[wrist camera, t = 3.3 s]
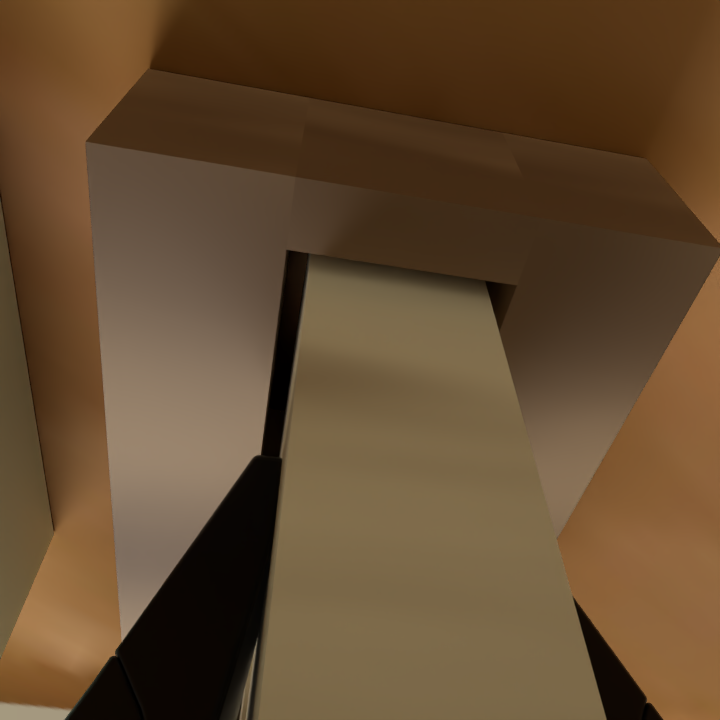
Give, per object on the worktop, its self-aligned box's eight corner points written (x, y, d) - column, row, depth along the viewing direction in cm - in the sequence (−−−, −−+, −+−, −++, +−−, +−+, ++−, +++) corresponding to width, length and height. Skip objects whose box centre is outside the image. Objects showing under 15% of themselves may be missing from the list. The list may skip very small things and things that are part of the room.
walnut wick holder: (416, 665, 21) (423, 770, 19) (155, 641, 20) (129, 748, 18) (646, 158, 11) (723, 248, 9) (148, 68, 10) (84, 140, 8)
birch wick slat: (401, 425, 14) (443, 1005, 7) (284, 410, 14) (210, 996, 7) (466, 212, 11) (642, 850, 4) (317, 187, 11) (245, 825, 4)
